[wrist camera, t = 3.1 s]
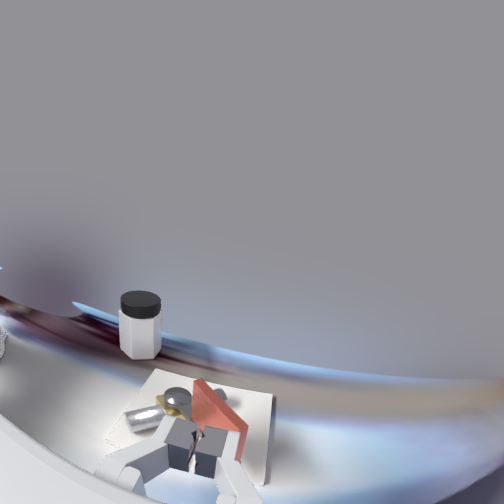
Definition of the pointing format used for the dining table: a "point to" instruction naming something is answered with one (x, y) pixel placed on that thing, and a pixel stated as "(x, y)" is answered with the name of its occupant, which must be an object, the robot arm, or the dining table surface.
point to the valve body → (156, 413)
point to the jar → (140, 324)
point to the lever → (206, 410)
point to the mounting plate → (239, 400)
